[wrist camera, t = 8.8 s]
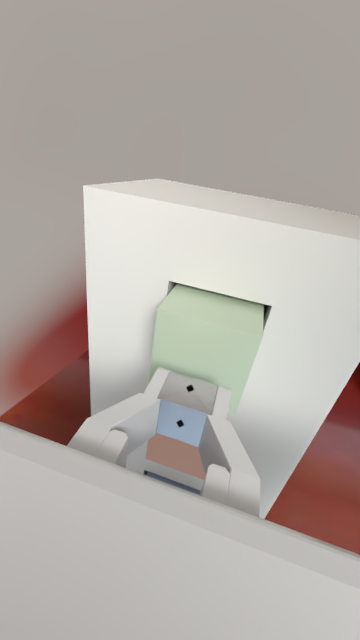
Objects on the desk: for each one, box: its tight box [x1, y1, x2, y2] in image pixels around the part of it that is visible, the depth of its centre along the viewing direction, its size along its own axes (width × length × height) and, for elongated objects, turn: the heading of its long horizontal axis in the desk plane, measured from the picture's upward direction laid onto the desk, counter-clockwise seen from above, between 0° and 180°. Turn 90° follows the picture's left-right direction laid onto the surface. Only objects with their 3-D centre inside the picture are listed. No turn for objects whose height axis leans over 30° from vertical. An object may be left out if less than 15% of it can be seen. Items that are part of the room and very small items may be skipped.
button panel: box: [83, 179, 360, 519], centre depth 23 cm, size 10×14×30 cm
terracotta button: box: [146, 433, 206, 480], centre depth 20 cm, size 5×4×4 cm
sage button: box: [149, 283, 264, 413], centre depth 14 cm, size 5×4×4 cm
